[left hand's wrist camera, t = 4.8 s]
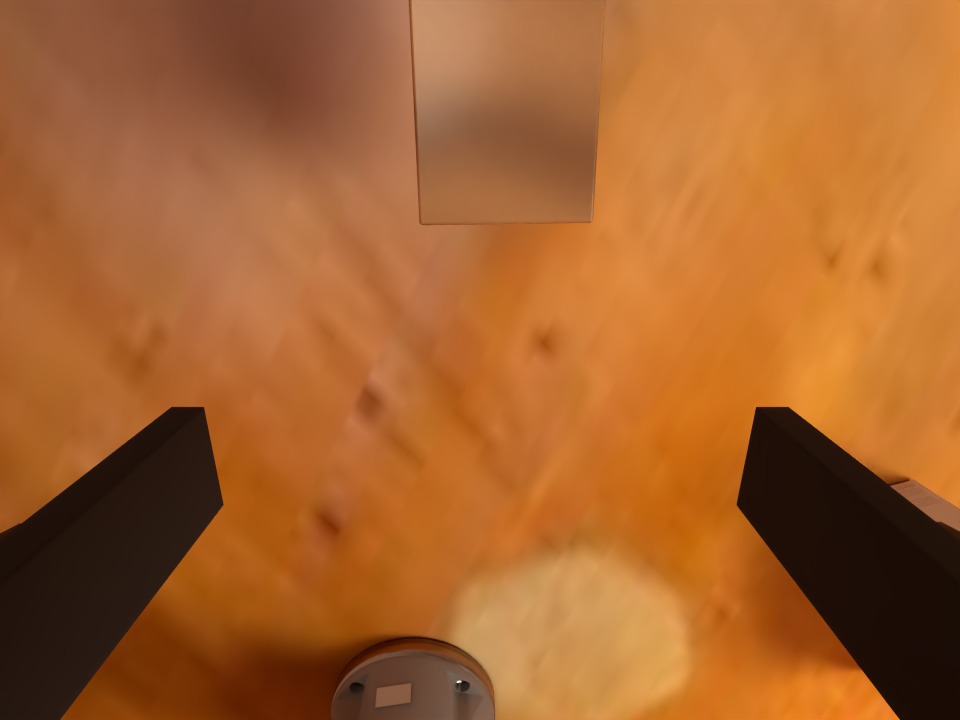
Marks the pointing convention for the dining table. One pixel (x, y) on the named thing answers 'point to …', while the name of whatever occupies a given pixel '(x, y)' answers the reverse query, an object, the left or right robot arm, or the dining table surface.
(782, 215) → the dining table surface
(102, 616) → the left robot arm
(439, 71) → the bar
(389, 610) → the dining table surface
